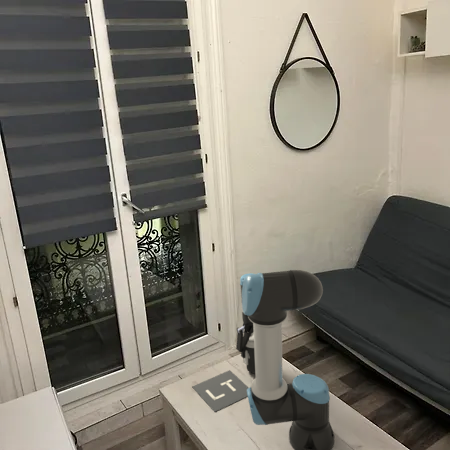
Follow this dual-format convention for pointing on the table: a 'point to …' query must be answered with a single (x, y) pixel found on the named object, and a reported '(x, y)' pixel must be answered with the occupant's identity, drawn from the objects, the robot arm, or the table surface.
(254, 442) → the table surface
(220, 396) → the mat
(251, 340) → the coffee cup
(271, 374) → the robot arm
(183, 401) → the table surface
